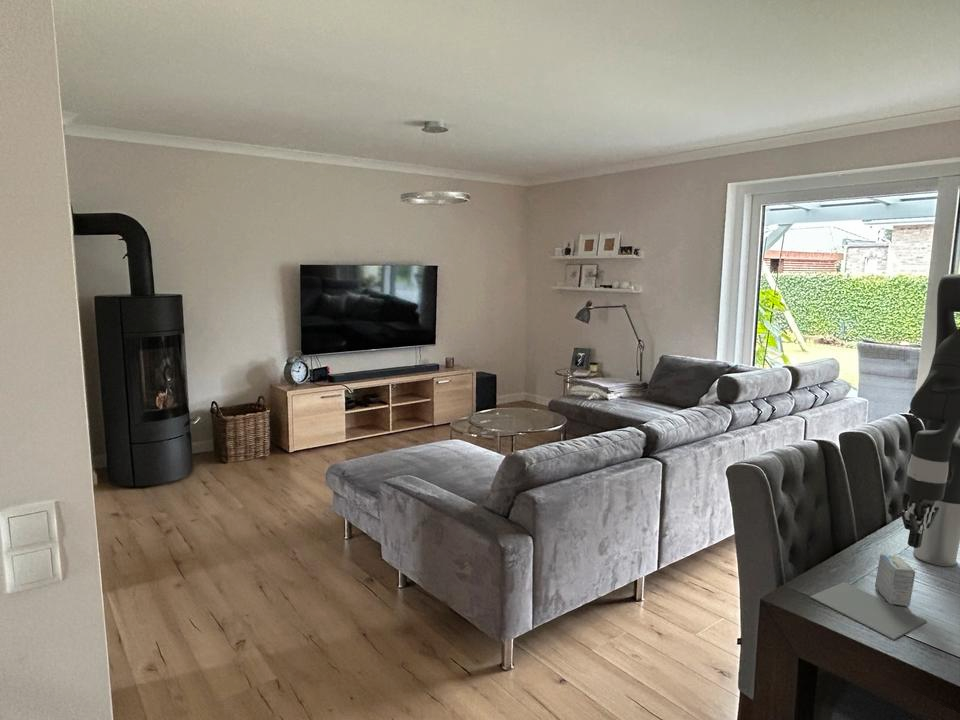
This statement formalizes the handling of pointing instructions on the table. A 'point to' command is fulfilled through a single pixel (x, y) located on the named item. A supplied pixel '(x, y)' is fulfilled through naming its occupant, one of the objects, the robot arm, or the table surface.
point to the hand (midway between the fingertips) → (913, 546)
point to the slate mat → (869, 610)
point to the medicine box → (895, 580)
